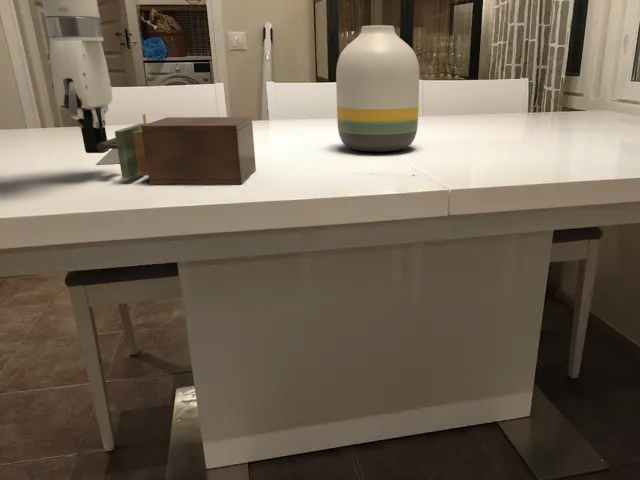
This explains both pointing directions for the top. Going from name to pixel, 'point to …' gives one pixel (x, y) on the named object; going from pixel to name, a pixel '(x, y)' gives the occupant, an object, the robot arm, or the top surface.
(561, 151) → the top surface
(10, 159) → the top surface
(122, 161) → the drawer
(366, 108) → the vase
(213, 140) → the cabinet
